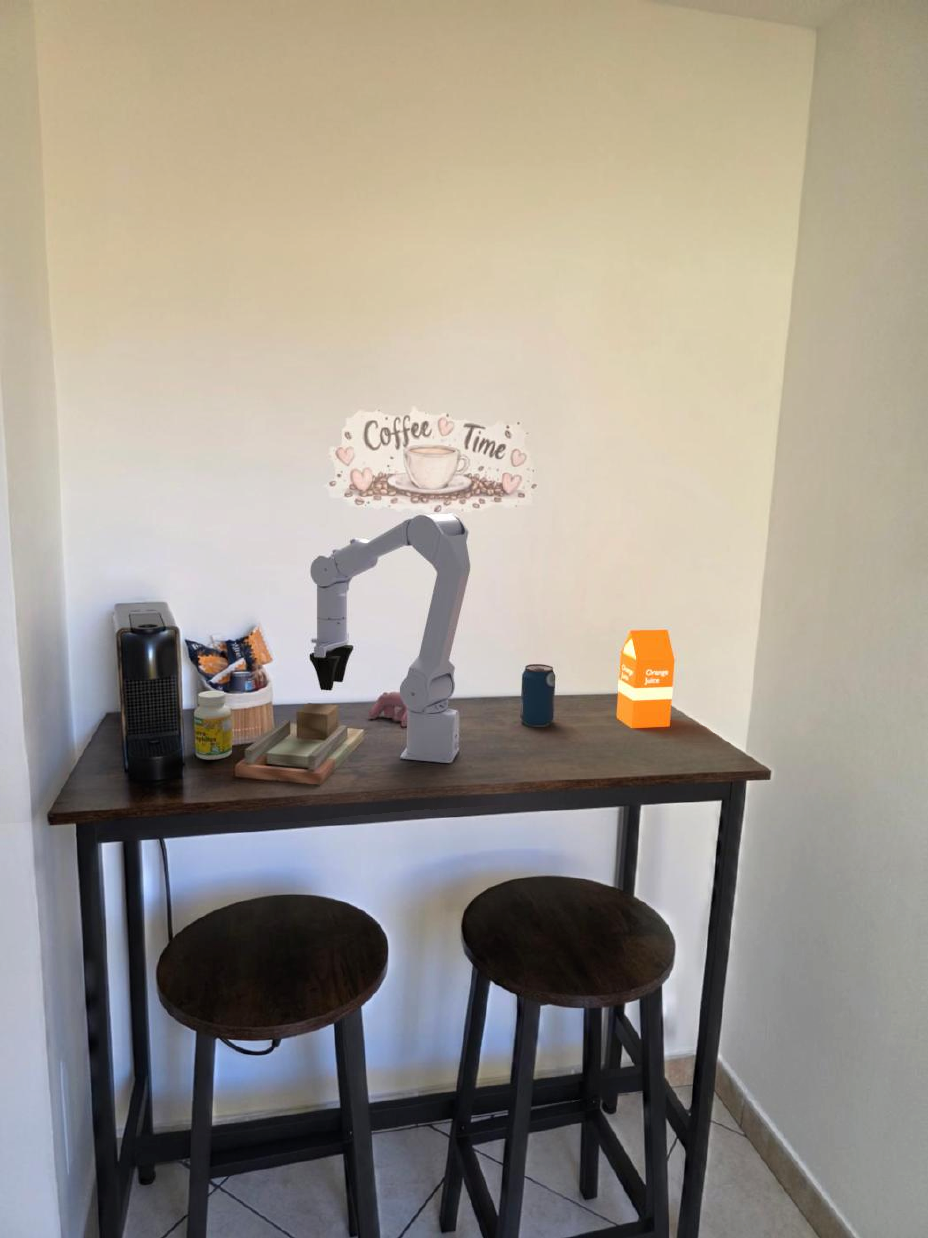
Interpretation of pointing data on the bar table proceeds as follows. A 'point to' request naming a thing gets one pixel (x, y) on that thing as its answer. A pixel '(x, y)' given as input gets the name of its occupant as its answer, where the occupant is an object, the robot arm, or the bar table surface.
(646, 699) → the orange juice
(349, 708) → the bar table surface
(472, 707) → the bar table surface
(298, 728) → the walnut block
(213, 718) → the supplement bottle
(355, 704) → the bar table surface
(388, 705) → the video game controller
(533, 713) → the soda can
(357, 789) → the bar table surface
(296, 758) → the channel deck
